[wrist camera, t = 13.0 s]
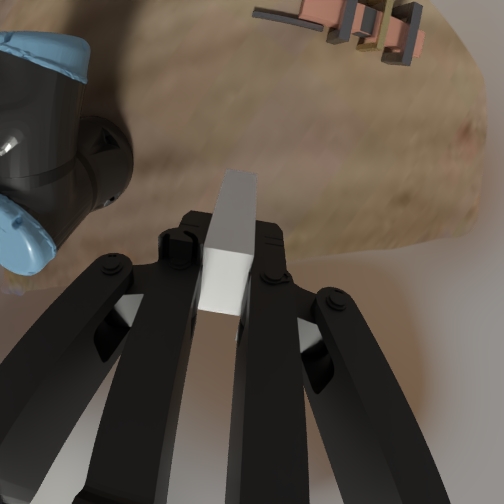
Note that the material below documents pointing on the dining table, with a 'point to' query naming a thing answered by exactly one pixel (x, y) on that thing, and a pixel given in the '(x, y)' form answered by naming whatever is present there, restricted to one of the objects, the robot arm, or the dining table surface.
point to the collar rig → (403, 11)
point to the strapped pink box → (358, 22)
